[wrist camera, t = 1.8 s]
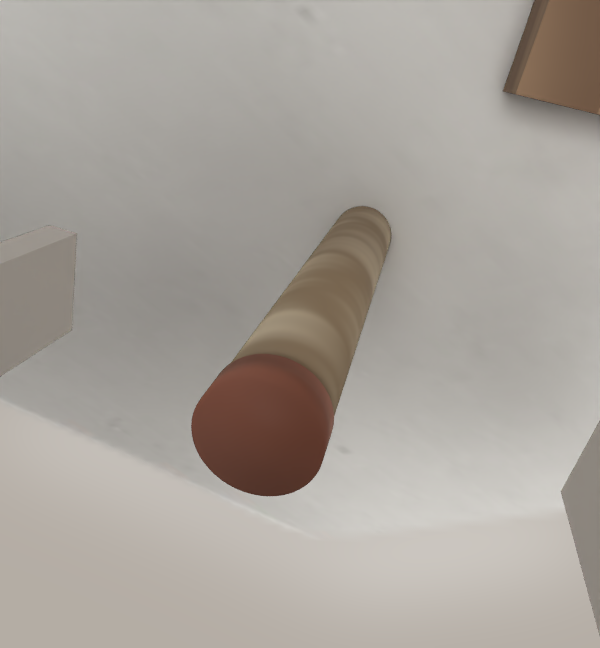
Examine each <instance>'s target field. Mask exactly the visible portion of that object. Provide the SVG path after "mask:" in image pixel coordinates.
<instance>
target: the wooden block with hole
mask: <svg viewBox="0 0 600 648" xmlns="http://www.w3.org/2000/svg"><path fill="white" fill-rule="evenodd" d="M503 91H504V92H508V93H512V94H516V95H520V96H524V97H529V98H533V99H537V100H541V101H545V102H549V103H553V104H557V105H561V106H565V107H570V108H574V109H578V110H582V111H586V112H590V113H594V114H598V115H600V0H535V1H534V4H533V7H532V9H531V12H530V15H529V18H528V21H527V24H526V27H525V29H524V32H523V35H522V38H521V41H520V44H519V47H518V49H517V52H516V55H515V58H514V61H513V64H512V67H511V69H510V72H509V75H508V78H507V81H506V84H505V87H504V89H503Z"/></svg>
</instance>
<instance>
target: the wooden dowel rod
mask: <svg viewBox="0 0 600 648" xmlns="http://www.w3.org/2000/svg"><path fill="white" fill-rule="evenodd" d="M390 241H391V229H390V226H389V223H388V221H387V220H386V218H385V217H384V216H383V215H382V214H381V213H380V212H379V211H377V210H375V209H373V208H370V207H365V206H359V207H354V208H351V209H349V210H347V211H346V212H344V213H343V214H342V215H341V216H340V217H339V219H338V220H337V221H336V223H335V224H334V225H333V227H332V228H331V229H330V231H329V232H328V233H327V235H326V236H325V237H324V239H323V240H322V241H321V243H320V244H319V245H318V247H317V248H316V249H315V251H314V252H313V253H312V255H311V256H310V257H309V259H308V260H307V261H306V263H305V264H304V266H303V267H302V268H301V270H300V271H299V272H298V274H297V275H296V276H295V278H294V279H293V280H292V282H291V283H290V284H289V286H288V287H287V288H286V290H285V291H284V292H283V294H282V295H281V296H280V298H279V299H278V300H277V302H276V303H275V304H274V306H273V307H272V308H271V310H270V311H269V312H268V314H267V315H266V316H265V318H264V319H263V320H262V322H261V323H260V325H259V326H258V327H257V329H256V330H255V331H254V333H253V334H252V335H251V337H250V338H249V339H248V341H247V342H246V343H245V345H244V346H243V347H242V349H241V350H240V351H239V353H238V354H237V355H236V357H235V358H234V359H233V361H232V362H231V363H230V364H229V365H228V366H226V367H225V368H224V369H223V370H222V371H221V373H220V374H219V375H218V376H217V378H216V379H215V380H214V382H213V383H212V384H211V386H210V387H209V388H208V390H207V391H206V392H205V394H204V395H203V396H202V398H201V399H200V401H199V402H198V404H197V405H196V408H195V410H194V413H193V417H192V425H191V428H192V437H193V441H194V444H195V447H196V449H197V452H198V454H199V456H200V457H201V459H202V460H203V462H204V463H205V464H206V466H207V467H208V468H209V469H210V470H211V471H212V472H213V473H214V474H215V475H216V476H217V477H219V478H220V479H221V480H222V481H224V482H226V483H227V484H229V485H230V486H232V487H234V488H236V489H239V490H241V491H244V492H247V493H250V494H254V495H260V496H280V495H285V494H289V493H292V492H295V491H297V490H299V489H301V488H302V487H304V486H306V485H307V484H308V483H309V482H310V481H311V480H312V479H313V478H314V477H315V476H316V474H317V472H318V471H319V469H320V467H321V464H322V461H323V458H324V455H325V452H326V449H327V445H328V442H329V439H330V436H331V433H332V429H333V424H334V415H335V412H336V409H337V406H338V403H339V400H340V396H341V393H342V390H343V387H344V384H345V381H346V378H347V375H348V372H349V369H350V365H351V362H352V359H353V356H354V353H355V350H356V347H357V344H358V341H359V338H360V334H361V331H362V328H363V325H364V322H365V319H366V316H367V313H368V310H369V307H370V303H371V300H372V297H373V294H374V291H375V288H376V285H377V282H378V279H379V276H380V272H381V269H382V266H383V263H384V260H385V257H386V254H387V251H388V248H389V245H390Z"/></svg>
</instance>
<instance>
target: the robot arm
mask: <svg viewBox="0 0 600 648" xmlns="http://www.w3.org/2000/svg"><path fill="white" fill-rule="evenodd" d="M76 240H77V233H74V232H70V231H67V230H64V229H61V228H57V227H54V226H51V225H48V226H45V227H43V228H40V229H37V230H34V231H31V232H28V233H25V234H23V235H20V236H17V237H14V238H11V239H8V240H5V241H3V242H0V376H2V375H3V374H5V373H6V372H8V371H9V370H11V369H13V368H14V367H16V366H17V365H19V364H20V363H22V362H23V361H25V360H26V359H28V358H30V357H31V356H33V355H34V354H36V353H37V352H39V351H40V350H42V349H43V348H45V347H47V346H48V345H50V344H51V343H53V342H54V341H56V340H57V339H59V338H60V337H62V336H64V335H65V334H67V333H68V332H70V331H71V330H72V320H73V300H74V280H75V260H76ZM561 494H562V498H563V501H564V505H565V509H566V513H567V516H568V520H569V524H570V527H571V531H572V535H573V539H574V542H575V546H576V550H577V553H578V557H579V561H580V565H581V568H582V572H583V576H584V580H585V583H586V587H587V591H588V594H589V598H590V602H591V605H592V609H593V613H594V617H595V620H596V624H597V628H598V631H599V635H600V421H599V423H598V425H597V426H596V428H595V430H594V432H593V434H592V436H591V437H590V439H589V441H588V443H587V445H586V447H585V448H584V450H583V452H582V454H581V456H580V457H579V459H578V461H577V463H576V465H575V467H574V468H573V470H572V472H571V474H570V476H569V478H568V479H567V481H566V483H565V485H564V487H563V489H562V490H561Z"/></svg>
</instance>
